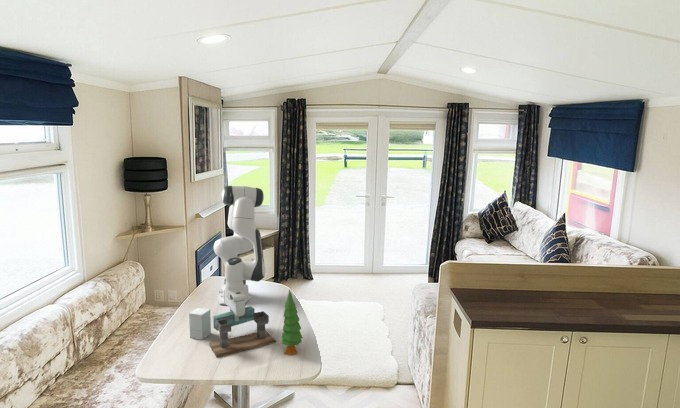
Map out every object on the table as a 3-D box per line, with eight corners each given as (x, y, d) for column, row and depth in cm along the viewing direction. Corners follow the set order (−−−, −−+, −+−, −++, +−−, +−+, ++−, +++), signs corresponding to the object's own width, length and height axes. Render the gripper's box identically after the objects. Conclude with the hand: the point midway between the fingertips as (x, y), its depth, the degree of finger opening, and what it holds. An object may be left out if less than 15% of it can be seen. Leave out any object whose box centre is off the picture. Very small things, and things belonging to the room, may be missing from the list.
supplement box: (211, 333, 206) (211, 309, 204) (202, 340, 199) (201, 315, 197) (198, 331, 208) (198, 307, 206) (189, 337, 201) (188, 312, 199)
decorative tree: (282, 347, 193) (282, 285, 189) (302, 346, 194) (303, 285, 190) (281, 357, 184) (281, 293, 180) (302, 357, 185) (303, 292, 181)
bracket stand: (209, 346, 193) (208, 319, 191) (266, 333, 208) (266, 308, 206) (216, 357, 183) (216, 329, 181) (275, 343, 198) (275, 317, 196)
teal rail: (213, 327, 198) (213, 316, 198) (250, 317, 212) (250, 306, 211) (217, 330, 196) (217, 318, 195) (254, 319, 209) (254, 308, 208)
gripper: (221, 286, 208) (222, 312, 210) (234, 299, 191) (234, 327, 193) (234, 284, 212) (234, 309, 214) (247, 297, 195) (247, 325, 196)
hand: (234, 318), depth 203 cm, fingers closed on teal rail, 4 cm apart
